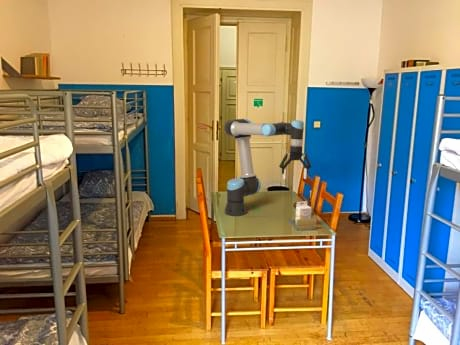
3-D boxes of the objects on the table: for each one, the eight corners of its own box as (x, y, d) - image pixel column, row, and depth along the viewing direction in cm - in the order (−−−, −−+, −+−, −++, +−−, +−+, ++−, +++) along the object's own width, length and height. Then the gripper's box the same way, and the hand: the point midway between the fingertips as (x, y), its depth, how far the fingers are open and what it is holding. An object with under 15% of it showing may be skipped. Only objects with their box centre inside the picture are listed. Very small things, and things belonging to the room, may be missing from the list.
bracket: (297, 230, 244) (297, 219, 243) (288, 221, 262) (288, 211, 261) (316, 229, 246) (316, 218, 245) (306, 220, 264) (306, 210, 262)
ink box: (299, 227, 248) (300, 203, 245) (295, 224, 253) (295, 201, 250) (311, 225, 251) (312, 202, 249) (306, 223, 256) (307, 200, 253)
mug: (293, 216, 272) (293, 203, 271) (292, 213, 280) (293, 200, 278) (311, 217, 271) (311, 203, 269) (310, 213, 279) (310, 200, 277)
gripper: (278, 146, 246) (276, 180, 250) (317, 146, 249) (315, 179, 254) (275, 144, 253) (273, 177, 258) (313, 144, 257) (311, 177, 261)
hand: (294, 178), depth 256 cm, fingers open, 13 cm apart
